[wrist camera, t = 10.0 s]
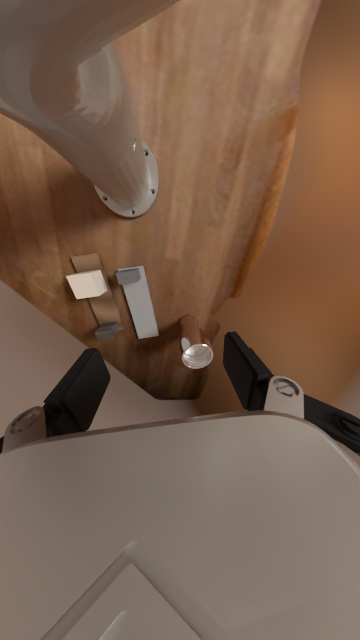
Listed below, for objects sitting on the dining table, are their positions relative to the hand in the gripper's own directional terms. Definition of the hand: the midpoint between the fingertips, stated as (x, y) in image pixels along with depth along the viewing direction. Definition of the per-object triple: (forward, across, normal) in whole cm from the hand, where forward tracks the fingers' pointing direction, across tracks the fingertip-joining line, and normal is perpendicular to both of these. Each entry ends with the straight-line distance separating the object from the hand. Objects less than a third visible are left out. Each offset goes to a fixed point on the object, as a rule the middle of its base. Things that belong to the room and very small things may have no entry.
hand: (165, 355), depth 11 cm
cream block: (+29, +18, -1) cm, 34 cm away
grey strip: (+30, +8, +6) cm, 31 cm away
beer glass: (+30, -5, +14) cm, 33 cm away
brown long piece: (+30, +18, +3) cm, 35 cm away
